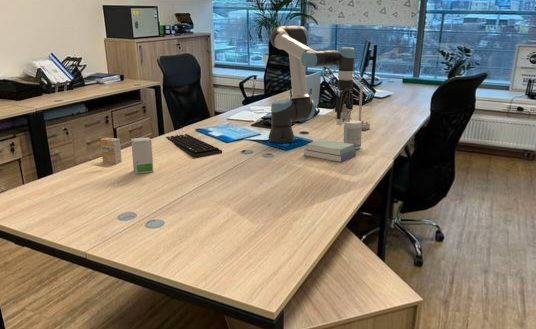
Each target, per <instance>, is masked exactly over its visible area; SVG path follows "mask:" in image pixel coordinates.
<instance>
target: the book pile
mask: <svg viewBox="0 0 536 329" xmlns="http://www.w3.org/2000/svg"><path fill="white" fill-rule="evenodd" d="M356 151H357V149H354V144H349V143H344V141H342V142H341V141H335V140H330V139H329V140H328V139H324V138H323V139H321V138H320V139H317V140H314V141H311V142H309V143H306V148H305V149H304V151H303V152H304V154H303V155H304V156H307V157H312V158H317V159H322V160H328V161H334V162H340V163H342V162H345V161H347V160H349V159H351V158H353V157H356V154H357V152H356Z"/></svg>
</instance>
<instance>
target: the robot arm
mask: <svg viewBox="0 0 536 329" xmlns="http://www.w3.org/2000/svg"><path fill="white" fill-rule="evenodd" d="M269 41H270V43H271V44H272V46H273V47H274V48H277V49H278V50H283V51H285V52H286V53H287V54H288V58H289V71H290V82H291V91H292V96H290V99H289V98H283V99H276V100H274V101H273V102H272V103H271V109H270V112H271V113H270V114H271V116H270V117H271V118H270V119H271V128H270V131H269V135H268V142H269V143H275V144H288V143H292V142H294V141H295V134H294V131H293V128H292V126H293V125H292V122H299V121H307V120H310V119H312V118H313V117H314V115H315V113H316V103H315V101H314V100H313V99H311V96H310V95H309V94H308V89H307V76H306V68H315V67H330V66H333V67H335V66H336V67H338V70H337V71H338V75H337V76H338V77H337V79H338V80H337V87H338V88H339V91H337V92H336V100H335V106H334V107H335V108H334V113H336V118H337V119H336V124H335V125H336V126H343V122H342V114H343V113H342V109H343V107H344V105H345V107H346V108H347V109H349V110H353V108H354V103H353V102H354V101H353V100H354V99H353V98H354V96H353V94H354V89H353V87H354V80H353V79H354V75H355V72H354V71H355V70H354V69H355V57H356V54H355V53H356V52H355V51H356V50H355V48H354V47H352V46H351V47H349V46H345V47H344V46H343V47H340V48H339V50H334V49H328V50H314V49H313V48H311V47H310V46H308V45H309V42H310V35H309V32H308V30H307V28H306V27H305V26H301V25H280V26H276V27H274V28H273V30H272V31H271V33H270V36H269ZM350 120H351V119H349V120H347V121H345V122H350Z"/></svg>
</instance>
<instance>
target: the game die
mask: <svg viewBox="0 0 536 329" xmlns="http://www.w3.org/2000/svg"><path fill="white" fill-rule="evenodd" d="M352 110H353V109H352ZM352 110H351V109H350V110H349V109H347V108H346V104H344V105H343V109H342V113H343V114H342V123H344V122H345V121H347V120H349V119H350V120H352V118H351V115H352V114H351V111H352ZM335 120H337V117H335Z"/></svg>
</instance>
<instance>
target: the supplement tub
mask: <svg viewBox="0 0 536 329" xmlns="http://www.w3.org/2000/svg"><path fill="white" fill-rule="evenodd" d="M361 121H362V120H361ZM361 121H359V120H354V119H353V120H352V119H350V122H343V124H344V125H343V143H349V144H354V150H358V149H361V148H362V131H363V130H362V123H361Z"/></svg>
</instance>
